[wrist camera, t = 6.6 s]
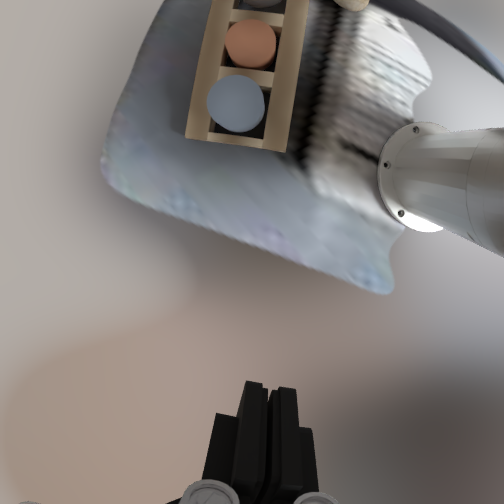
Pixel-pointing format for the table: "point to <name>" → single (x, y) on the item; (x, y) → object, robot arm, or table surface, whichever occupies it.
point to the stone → (353, 4)
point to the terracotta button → (251, 44)
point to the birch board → (249, 72)
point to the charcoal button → (261, 3)
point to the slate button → (236, 103)
